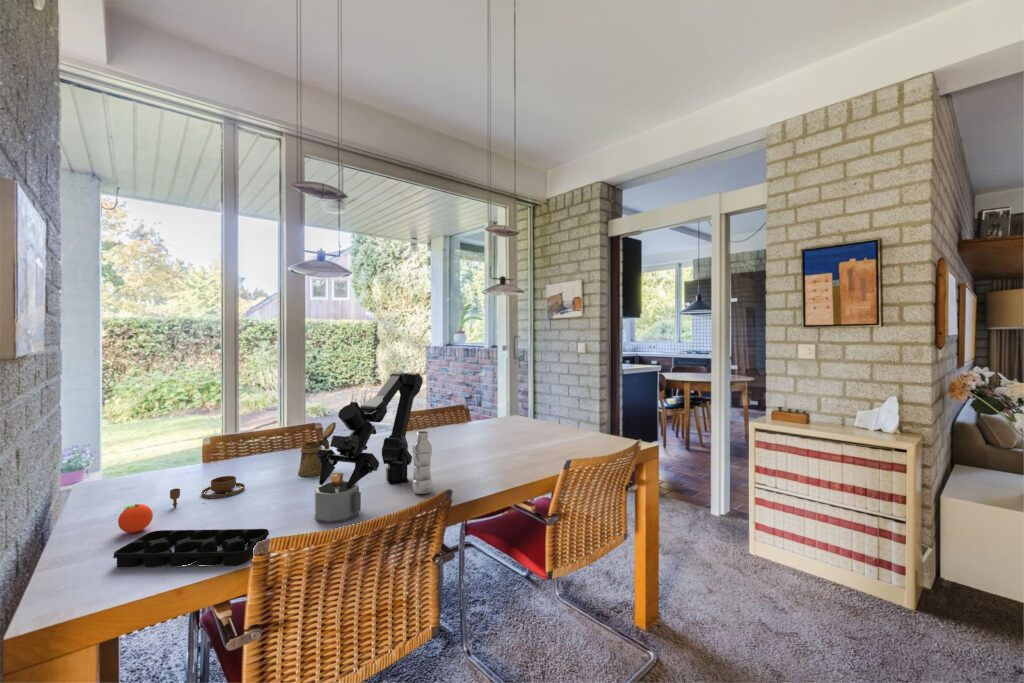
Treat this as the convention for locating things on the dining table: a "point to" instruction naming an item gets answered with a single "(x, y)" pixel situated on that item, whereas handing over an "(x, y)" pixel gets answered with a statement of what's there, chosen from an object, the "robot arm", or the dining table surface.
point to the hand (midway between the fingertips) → (333, 486)
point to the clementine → (135, 518)
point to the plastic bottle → (422, 464)
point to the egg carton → (191, 547)
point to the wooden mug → (314, 454)
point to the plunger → (337, 481)
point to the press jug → (336, 503)
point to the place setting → (214, 488)
